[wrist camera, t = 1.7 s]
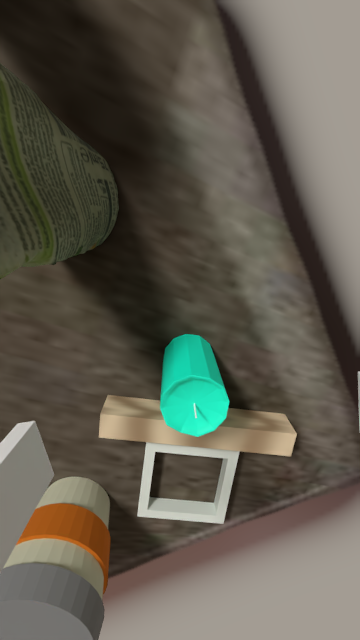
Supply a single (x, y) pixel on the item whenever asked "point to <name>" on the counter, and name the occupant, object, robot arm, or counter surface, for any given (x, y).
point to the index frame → (183, 507)
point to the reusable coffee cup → (59, 567)
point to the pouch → (47, 184)
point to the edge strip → (232, 434)
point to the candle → (192, 387)
